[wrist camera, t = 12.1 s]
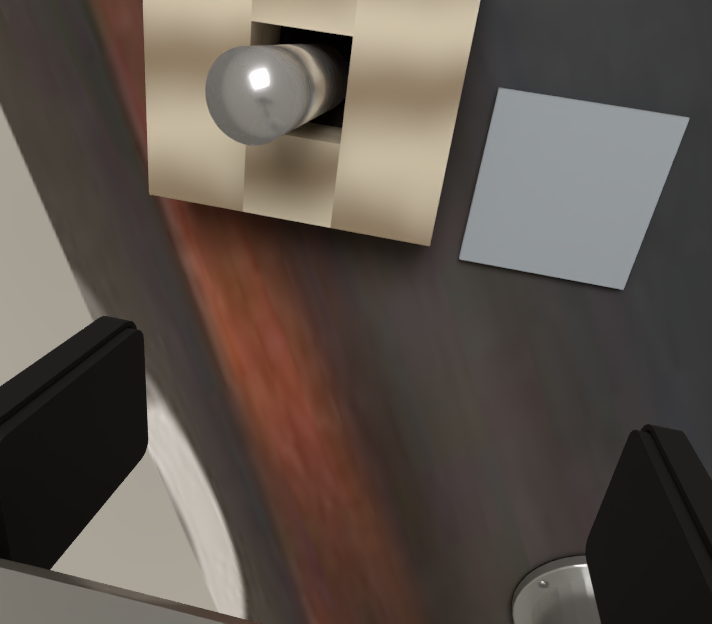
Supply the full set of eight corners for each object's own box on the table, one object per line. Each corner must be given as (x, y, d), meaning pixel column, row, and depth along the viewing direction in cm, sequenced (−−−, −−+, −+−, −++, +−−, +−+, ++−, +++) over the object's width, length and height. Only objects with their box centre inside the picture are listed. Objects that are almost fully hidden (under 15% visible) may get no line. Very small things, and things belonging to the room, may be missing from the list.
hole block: (433, 219, 35) (429, 246, 30) (187, 175, 36) (149, 194, 32) (488, -45, 29) (492, -61, 24) (187, -87, 30) (139, -109, 26)
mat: (620, 286, 35) (623, 289, 34) (459, 255, 36) (458, 259, 35) (685, 116, 30) (689, 118, 30) (498, 87, 31) (499, 88, 31)
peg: (346, 115, 33) (290, 152, 22) (286, 105, 33) (204, 137, 23) (354, 48, 31) (298, 53, 21) (291, 38, 32) (205, 39, 21)
